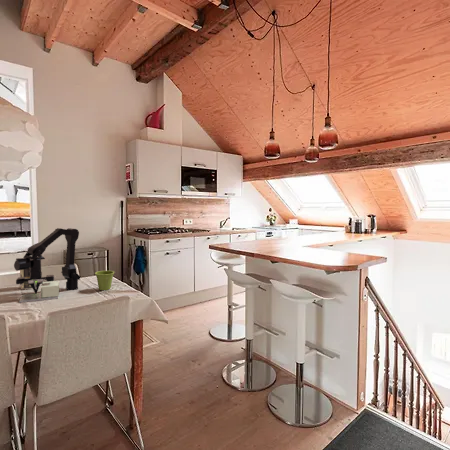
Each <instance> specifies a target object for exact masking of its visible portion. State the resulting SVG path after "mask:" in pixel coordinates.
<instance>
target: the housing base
mask: <svg viewBox="0 0 450 450" xmlns="http://www.w3.org/2000/svg"><path fill="white" fill-rule="evenodd" d="M58 298H59V296H53V297H43V298H41V292H37V294H35V293H27V294H25V293H24V294H21V296H20V299H19V300H18V303H19V304H21V303H30V302H37V301H38V302H39V301H40V302H41V301H48V300H54V299H58Z"/></svg>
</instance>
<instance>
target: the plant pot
mask: <svg viewBox="0 0 450 450" xmlns="http://www.w3.org/2000/svg"><path fill="white" fill-rule="evenodd" d="M114 274H115V270H99V271H96V272H95V277H96V280H97V285H98V286H97V287H98V290H99V291H102V290H106V291H108V289H110V288H112V281H113V278H114ZM110 290H111V289H110Z"/></svg>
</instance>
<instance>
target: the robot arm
mask: <svg viewBox="0 0 450 450" xmlns="http://www.w3.org/2000/svg"><path fill="white" fill-rule="evenodd" d="M62 235H64V238H65V240H66V253H65V256H66V257H65V264H64V266H61V272H60V273H61V274H62V277H64V280H66V281H65V289H66V291H71V290H79V283H78V282H79V280H81V275H80V274H78V273H77V268H76V264H75V256H76V254H75V253H76V242H77V241H78V239H79V236H80V231H79V229H77V228H66V229H65V228H59V227H57V228H55V230H53V231H52V232H51V233H50V234H48V235H47V236H46V237H45V238H44V239H42V240H41V241H39V242H38V243H34V244H33V245H31V246H29V247H28V248H27V252H26V253H25V255H23V257H20V258H19V257H17V258H16V259H15V261H14V264H13V267H14V270H15V271H16V272H18V271H20V270H24V269H29V268H30V270H28V276H30V278H26V279H25V277H21V276H19V277H17V278H16V280H15V285H21V284H23V283H24V282H29V283H28V285H31V287H32V288H33V289H32V290H33V292H34V294H37V293H38V292H39V289H40V287H41V285H42V283H43V282H44V281H45V282H50V281H55V275H54V274H48V275H46V276H43V272H42V260H45V259H46V257H44V256H43V254H44V253H45V252H46V249H48V247H49V246H50V245H51V244H53V243H54V242H55V241H56V240H58V238H59V239H60V237H61V236H62ZM33 279H34V280H33ZM35 281H37V286H35Z"/></svg>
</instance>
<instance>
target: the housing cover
mask: <svg viewBox="0 0 450 450" xmlns="http://www.w3.org/2000/svg"><path fill="white" fill-rule="evenodd" d="M40 293H41V298H43V297H53V296H58V297H60V280H54V281H50V282H48V281H43V283H42V284H40Z"/></svg>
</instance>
